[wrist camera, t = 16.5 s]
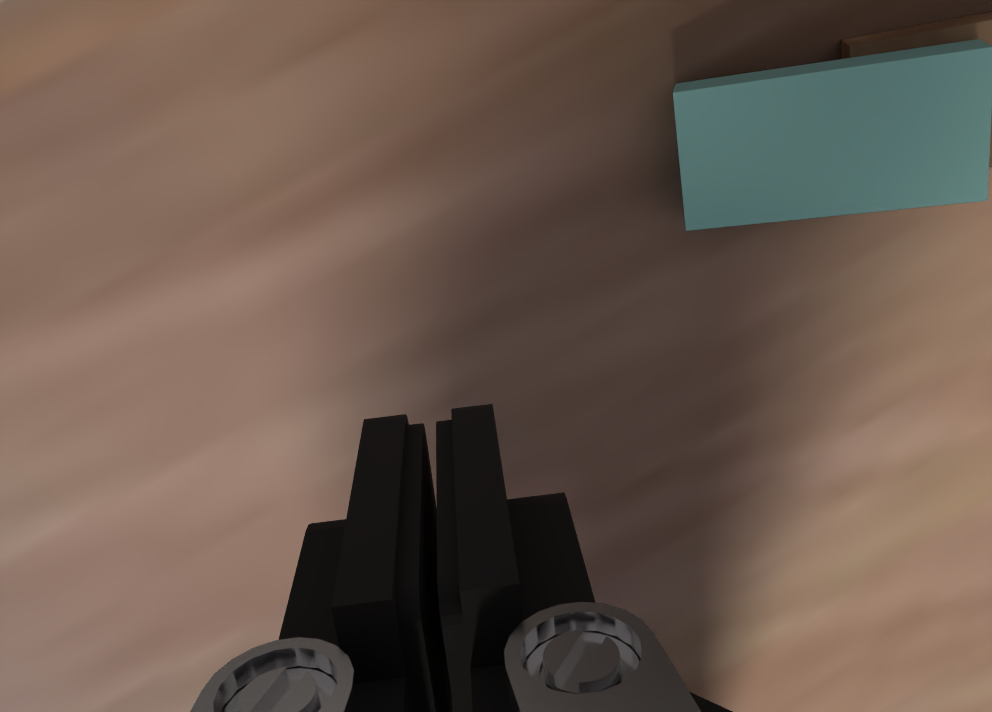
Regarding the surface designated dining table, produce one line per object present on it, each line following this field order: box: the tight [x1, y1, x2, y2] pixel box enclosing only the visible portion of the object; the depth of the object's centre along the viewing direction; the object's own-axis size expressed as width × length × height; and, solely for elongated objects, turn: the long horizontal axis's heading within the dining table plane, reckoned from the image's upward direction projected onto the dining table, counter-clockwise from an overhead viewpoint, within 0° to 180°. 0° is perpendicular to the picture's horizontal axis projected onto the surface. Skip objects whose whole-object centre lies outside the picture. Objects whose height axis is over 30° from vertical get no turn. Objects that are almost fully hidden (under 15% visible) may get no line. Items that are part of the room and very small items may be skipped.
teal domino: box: [673, 39, 992, 231], centre depth 31 cm, size 2×5×10 cm
